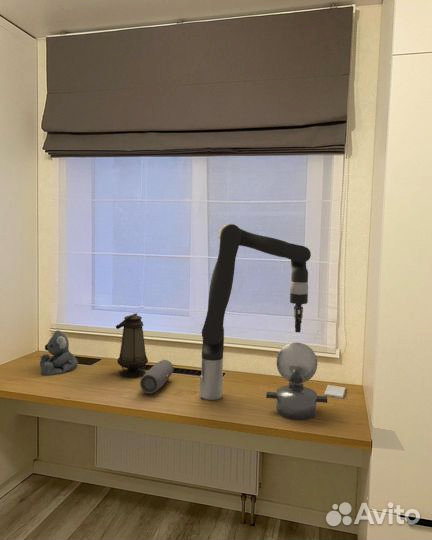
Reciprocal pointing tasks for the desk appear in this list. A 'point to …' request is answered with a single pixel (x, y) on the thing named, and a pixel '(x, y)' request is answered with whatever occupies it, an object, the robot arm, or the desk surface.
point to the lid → (296, 363)
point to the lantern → (132, 347)
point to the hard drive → (335, 391)
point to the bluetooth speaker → (156, 376)
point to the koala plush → (57, 356)
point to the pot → (296, 402)
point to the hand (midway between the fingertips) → (297, 330)
